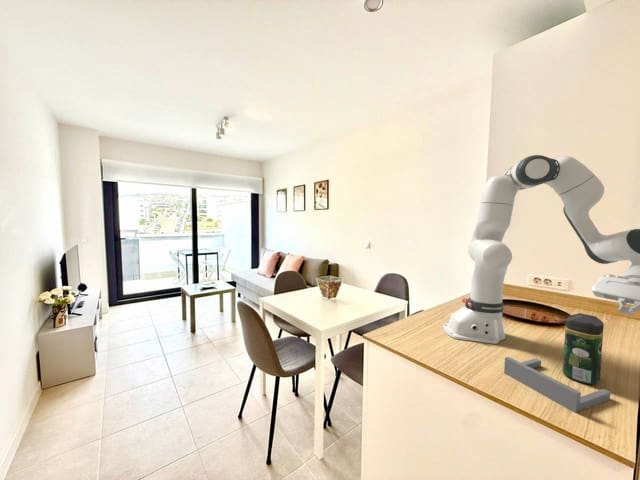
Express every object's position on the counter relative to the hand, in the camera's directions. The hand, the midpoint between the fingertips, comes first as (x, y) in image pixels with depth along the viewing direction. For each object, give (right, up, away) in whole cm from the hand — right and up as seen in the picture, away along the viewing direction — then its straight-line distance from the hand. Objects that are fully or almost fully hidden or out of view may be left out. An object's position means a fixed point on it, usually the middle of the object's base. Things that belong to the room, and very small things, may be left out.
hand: (624, 312), depth 86 cm
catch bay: (-31, -18, -9) cm, 37 cm away
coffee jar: (-19, -18, -5) cm, 27 cm away
